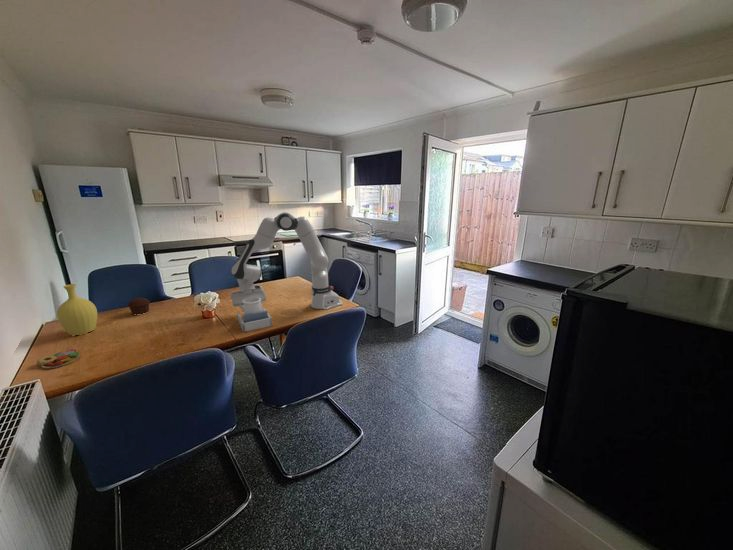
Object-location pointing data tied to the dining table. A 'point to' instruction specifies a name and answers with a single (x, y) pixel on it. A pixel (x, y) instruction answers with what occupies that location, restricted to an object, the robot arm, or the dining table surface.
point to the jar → (252, 305)
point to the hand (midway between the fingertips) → (251, 309)
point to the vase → (77, 313)
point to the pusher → (255, 316)
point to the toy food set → (58, 359)
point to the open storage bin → (255, 323)
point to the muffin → (139, 306)
